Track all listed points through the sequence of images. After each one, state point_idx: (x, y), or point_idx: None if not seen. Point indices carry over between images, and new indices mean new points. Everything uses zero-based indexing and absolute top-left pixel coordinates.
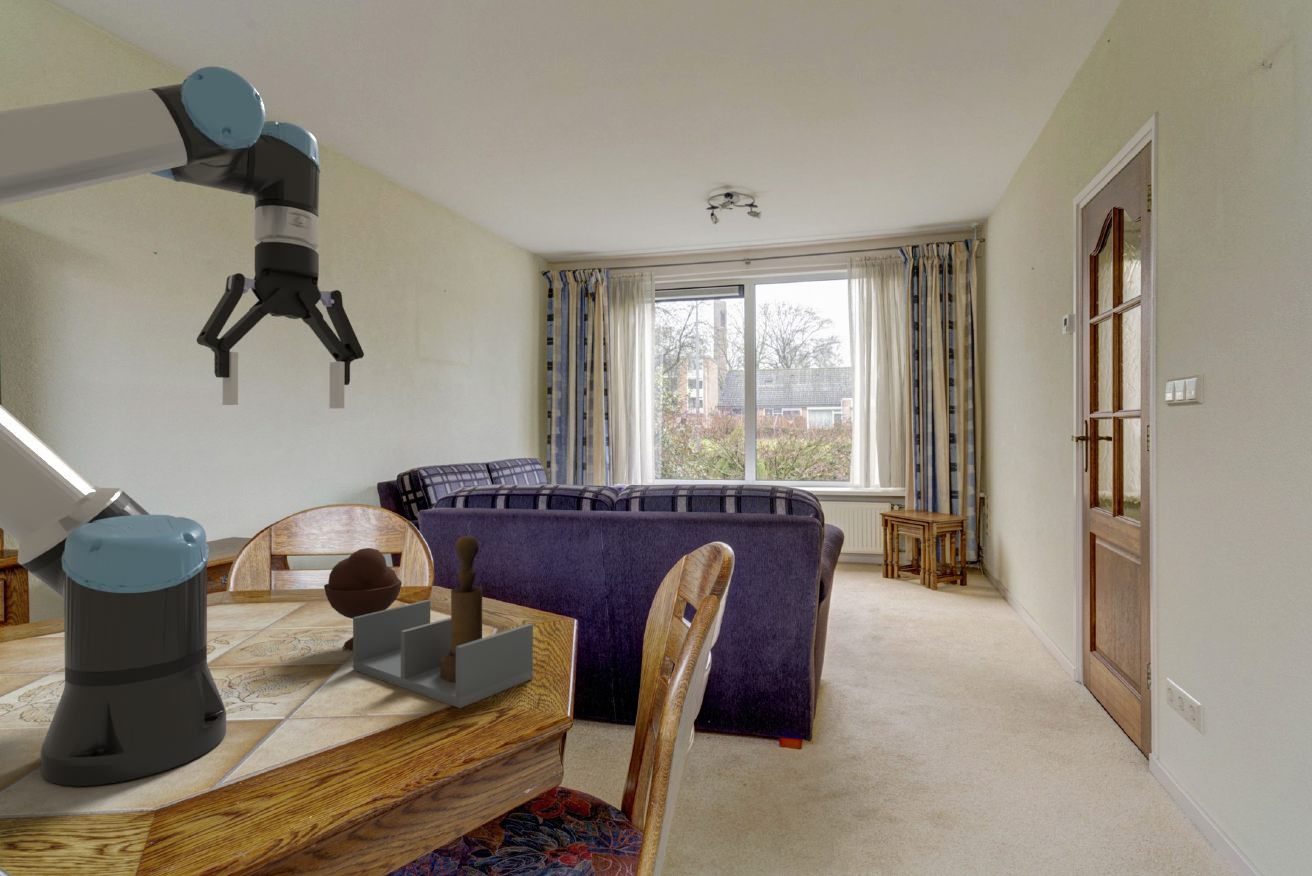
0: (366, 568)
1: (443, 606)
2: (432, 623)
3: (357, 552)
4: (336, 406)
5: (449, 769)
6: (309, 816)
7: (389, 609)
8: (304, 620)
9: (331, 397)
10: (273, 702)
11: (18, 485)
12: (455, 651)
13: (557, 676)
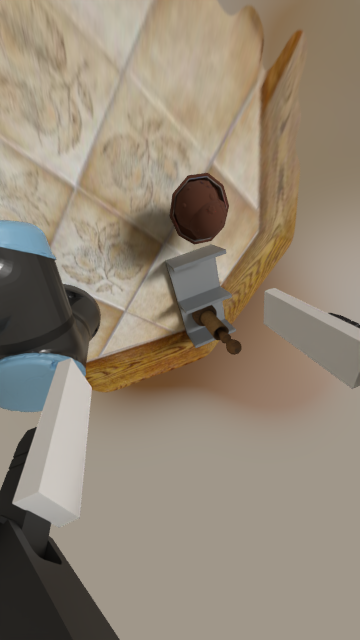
0: (201, 238)
1: (272, 129)
2: (203, 306)
3: (204, 223)
4: (265, 317)
5: (165, 371)
6: (125, 381)
7: (197, 261)
8: (164, 65)
9: (280, 307)
10: (121, 288)
11: None
12: (201, 321)
13: (231, 321)
